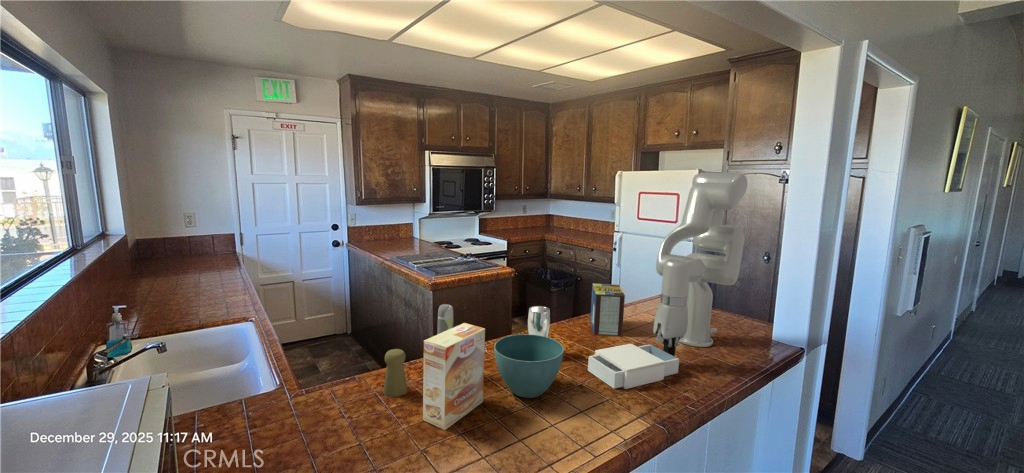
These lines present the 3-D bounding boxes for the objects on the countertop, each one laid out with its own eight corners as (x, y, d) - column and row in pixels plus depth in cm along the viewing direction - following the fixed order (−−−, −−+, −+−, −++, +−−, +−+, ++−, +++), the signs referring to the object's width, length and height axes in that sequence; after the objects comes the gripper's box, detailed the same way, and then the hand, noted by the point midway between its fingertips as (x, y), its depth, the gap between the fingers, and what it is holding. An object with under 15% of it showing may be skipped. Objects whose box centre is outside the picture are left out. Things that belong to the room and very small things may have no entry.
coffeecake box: (445, 431, 95) (446, 347, 92) (421, 420, 99) (421, 339, 96) (484, 402, 108) (486, 327, 105) (462, 393, 111) (463, 321, 109)
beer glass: (523, 356, 135) (525, 310, 133) (530, 348, 142) (532, 304, 140) (544, 360, 133) (546, 314, 131) (551, 352, 139) (553, 307, 137)
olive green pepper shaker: (411, 387, 114) (411, 348, 112) (398, 398, 108) (398, 357, 106) (392, 383, 115) (391, 344, 114) (378, 394, 110) (377, 353, 108)
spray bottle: (457, 372, 123) (458, 305, 120) (443, 378, 119) (444, 309, 116) (446, 367, 126) (447, 301, 123) (432, 372, 123) (433, 304, 120)
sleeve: (629, 360, 135) (631, 343, 134) (663, 379, 123) (665, 361, 122) (593, 367, 129) (595, 350, 128) (625, 389, 117) (626, 370, 116)
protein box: (616, 322, 170) (619, 284, 168) (622, 336, 155) (625, 295, 153) (589, 320, 171) (592, 282, 169) (593, 334, 156) (595, 293, 154)
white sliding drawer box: (649, 357, 137) (650, 344, 137) (677, 373, 127) (679, 358, 126) (587, 370, 127) (588, 356, 126) (613, 388, 116) (615, 373, 116)
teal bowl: (481, 398, 109) (482, 353, 107) (508, 369, 126) (509, 329, 124) (550, 415, 103) (552, 367, 101) (568, 382, 119) (571, 340, 118)
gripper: (681, 294, 137) (676, 349, 139) (646, 299, 130) (641, 356, 133) (701, 301, 130) (695, 358, 133) (665, 306, 123) (659, 366, 126)
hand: (668, 357), depth 133 cm, fingers closed
